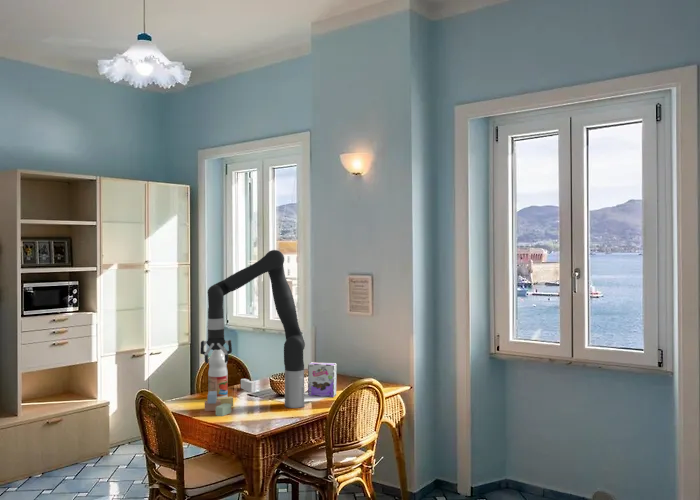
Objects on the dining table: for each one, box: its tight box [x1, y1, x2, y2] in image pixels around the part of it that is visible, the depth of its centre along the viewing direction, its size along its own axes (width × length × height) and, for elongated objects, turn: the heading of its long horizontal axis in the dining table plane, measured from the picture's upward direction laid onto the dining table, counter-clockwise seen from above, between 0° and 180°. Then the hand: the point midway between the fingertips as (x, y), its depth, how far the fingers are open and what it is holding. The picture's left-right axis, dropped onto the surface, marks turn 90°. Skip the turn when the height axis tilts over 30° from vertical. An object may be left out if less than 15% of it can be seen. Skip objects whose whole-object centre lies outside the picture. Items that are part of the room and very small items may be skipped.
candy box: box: [307, 361, 338, 398], centre depth 315 cm, size 14×6×16 cm, turn 76°
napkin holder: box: [240, 378, 256, 393], centre depth 328 cm, size 15×11×6 cm
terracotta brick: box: [204, 400, 221, 412], centre depth 287 cm, size 7×4×4 cm, turn 104°
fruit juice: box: [207, 349, 229, 398], centre depth 307 cm, size 9×9×28 cm
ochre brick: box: [217, 396, 234, 407], centre depth 294 cm, size 7×4×4 cm, turn 110°
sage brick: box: [215, 403, 232, 417], centre depth 280 cm, size 7×4×4 cm, turn 159°
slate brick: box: [207, 391, 217, 404], centre depth 287 cm, size 7×4×4 cm, turn 7°
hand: (216, 362), depth 288 cm, fingers open, 8 cm apart
